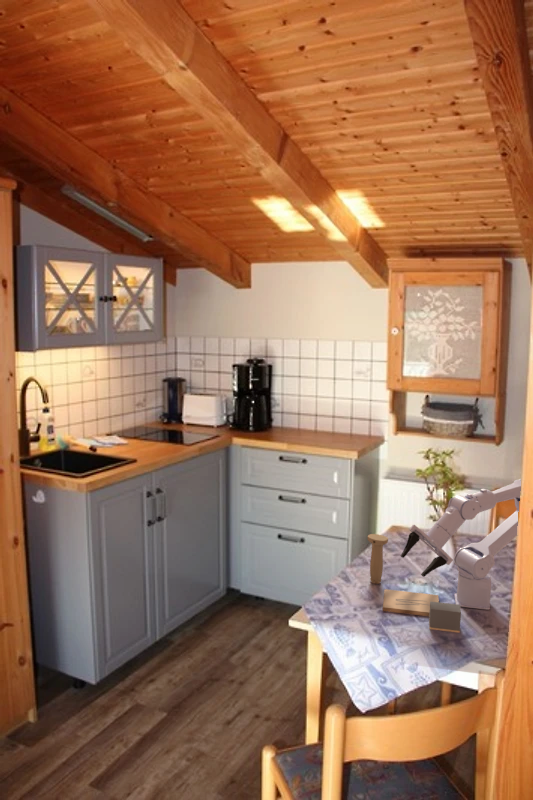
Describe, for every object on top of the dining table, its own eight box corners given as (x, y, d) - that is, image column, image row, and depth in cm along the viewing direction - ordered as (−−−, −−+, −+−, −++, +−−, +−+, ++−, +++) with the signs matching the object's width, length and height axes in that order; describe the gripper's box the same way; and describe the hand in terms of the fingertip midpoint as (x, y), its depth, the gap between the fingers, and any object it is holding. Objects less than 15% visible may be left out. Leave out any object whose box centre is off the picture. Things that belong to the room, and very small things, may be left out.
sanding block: (458, 624, 185) (459, 604, 184) (459, 633, 181) (461, 612, 180) (428, 621, 187) (430, 601, 186) (429, 629, 182) (430, 608, 181)
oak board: (438, 598, 200) (438, 595, 200) (439, 617, 189) (439, 613, 189) (384, 592, 204) (384, 589, 203) (382, 611, 192) (382, 607, 192)
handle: (381, 587, 207) (383, 542, 205) (363, 582, 211) (365, 537, 209) (388, 582, 211) (390, 537, 209) (370, 577, 215) (372, 532, 212)
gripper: (426, 512, 188) (395, 548, 186) (466, 548, 186) (435, 585, 184) (421, 513, 195) (390, 548, 193) (459, 547, 193) (429, 583, 191)
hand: (412, 566), depth 189 cm, fingers open, 7 cm apart
